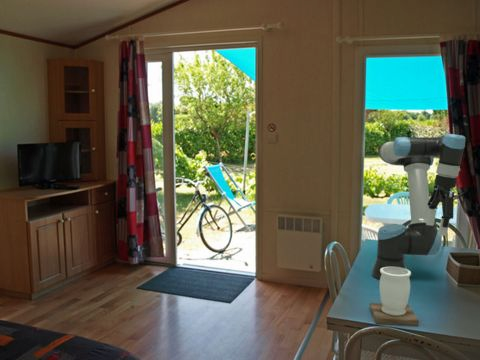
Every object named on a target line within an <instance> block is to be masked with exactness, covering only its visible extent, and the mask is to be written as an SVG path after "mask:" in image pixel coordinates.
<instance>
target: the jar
mask: <svg viewBox="0 0 480 360" xmlns="http://www.w3.org/2000/svg"><path fill="white" fill-rule="evenodd" d="M380 273H381V274H382V275H381V278H380V280H379V295H380V296H379V297H380V301H381V303H382V305H383V306H382V308H381V309H382V311H383V312H384V313H386V314H389V315H394V316H400V315H404V314H405V313H406V310H405V307H406V305H408V302H409V297H410V293H411V279H410V277H411V276H412V272H411V270H409V269H407V268H406V269H404V268H400V267H383V268H381V269H380Z"/></svg>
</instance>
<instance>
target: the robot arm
mask: <svg viewBox="0 0 480 360" xmlns="http://www.w3.org/2000/svg"><path fill="white" fill-rule="evenodd" d="M465 147H466V137H465V136H464V135H461V134H460V135H459V134H453V133H445V134H444V135H443V136H436V137H426V136H423V137H414V136H413V137H411V136H409V137H408V136H401V137H400V136H398V137H396V138H394V140H392V141H387V142H385V143H383V144H382V145H381V146H380V148H379V151H378V155H379V157H380V159H381V160H382V161H383V162H384V163H387V164H388V165H391V166H403V171H404V172H405V173H406V174H407V183H408V184H407V185H408V197H409V198H408V199H409V209H410V210H409V213H410V222H409V224H408V225H407V227H406V225H404V224H402V223H401V224H398V223H391V224H385V225H382V226H380V227H379V228H378V231H377V247H376V260H375V262H374V265H373V267H372V270H371V274H372V275H371V276H372V277H373V278H375V279H377V280H379V281H380V278H381V275H382V274H381V273H380V269H381V268H383V267H400V268H404V269H407V267H406V264H405V256H407V255H410V256H426V257H427V256H435V255H437V254H438V253H439V251H440V250H441V247H442V241H443V240H442V238H443V236H444V237H446V236H447V235H448V230H449V225H450V220H451V219H452V220H453V219H454V209H455V208H454V207H455V206H454V201H455V199H454V198H455V191H452V190H451V189H452V188H453V189H455V188H456V187H457V184H458V183H457V182H458V178H457V177H459V172H461V168H460V167H461V164H462V161H463V154H464V150H465ZM434 157H436V158H438V157H439V159H438V163H437V168H436V175H435V177H434V186H433V191H432V192H431V194H430V192H429V191H430V190H429V180H428V179H429V178H428V171H429V170H430V169H431V166H432V165H433V164H434ZM440 203H441V210H442V216H441V217H440V223H439V229H438V228H437V227H436V223H435V220H436V216H437V211H438V206H439V205H440Z"/></svg>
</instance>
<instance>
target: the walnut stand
mask: <svg viewBox="0 0 480 360" xmlns="http://www.w3.org/2000/svg"><path fill="white" fill-rule="evenodd" d="M382 306H383V305H382V302H381V303H378V302H377V303H376V302H369V310H370V312H371V315H372V317H373V319H374V322H375V324H376V325H387V326H388V325H389V326H390V325H392V326H408V327H410V326H411V327H419V326H420V325H419V324H420V321H419V319H418V317H417V315H416V314H415V313H414V310H412V308H411V306H410V305H409V304H407V305H406V307H405V310H406V313H405V314H404V315H400V316H394V315H389V314H386V313H384V312H383V311H382V309H381V308H382Z"/></svg>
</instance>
